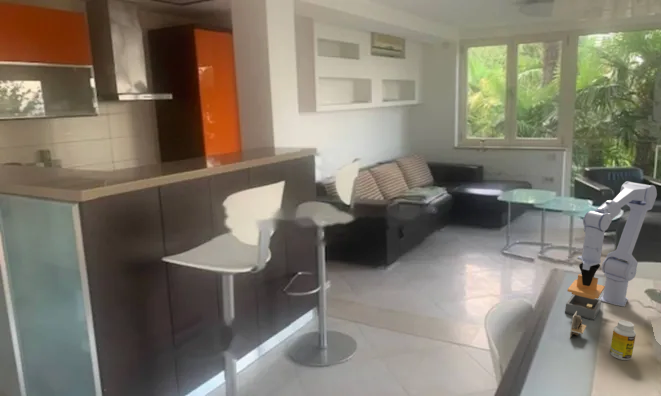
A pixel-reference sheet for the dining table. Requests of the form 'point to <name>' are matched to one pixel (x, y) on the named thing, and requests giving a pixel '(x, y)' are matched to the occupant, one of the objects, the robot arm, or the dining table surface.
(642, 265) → the dining table surface
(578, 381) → the dining table surface
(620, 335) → the supplement bottle
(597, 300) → the tub
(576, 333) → the architectural model
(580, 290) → the lid
